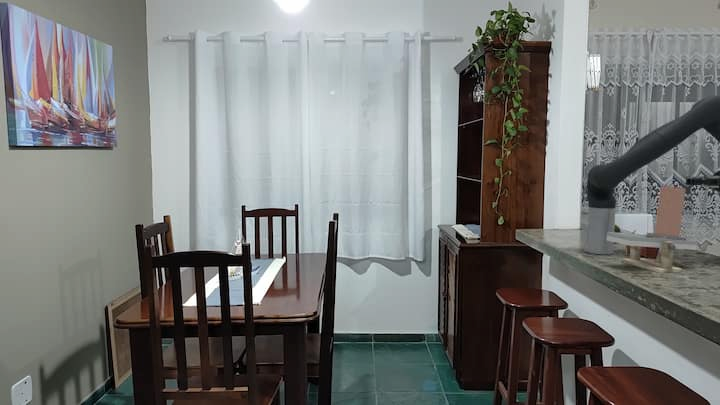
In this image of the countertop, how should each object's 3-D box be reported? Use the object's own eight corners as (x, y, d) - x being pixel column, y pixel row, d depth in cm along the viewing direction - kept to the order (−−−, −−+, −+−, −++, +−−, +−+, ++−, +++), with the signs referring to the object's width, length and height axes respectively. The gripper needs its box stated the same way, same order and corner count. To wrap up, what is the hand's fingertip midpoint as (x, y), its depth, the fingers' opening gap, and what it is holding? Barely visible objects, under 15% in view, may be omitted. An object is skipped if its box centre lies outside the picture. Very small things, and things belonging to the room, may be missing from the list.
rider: (665, 239, 169) (673, 187, 168) (685, 243, 162) (693, 189, 160) (646, 238, 168) (653, 185, 166) (665, 242, 160) (673, 187, 159)
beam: (670, 244, 171) (672, 236, 171) (696, 250, 161) (698, 241, 161) (606, 240, 165) (607, 231, 165) (629, 245, 155) (630, 236, 155)
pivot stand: (639, 260, 173) (641, 233, 172) (682, 271, 156) (684, 242, 155) (620, 261, 171) (621, 234, 170) (661, 273, 154) (663, 243, 153)
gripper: (713, 169, 175) (672, 169, 171) (751, 170, 161) (707, 171, 158) (712, 190, 175) (671, 191, 171) (749, 193, 162) (706, 194, 158)
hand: (689, 181), depth 165 cm, fingers closed
